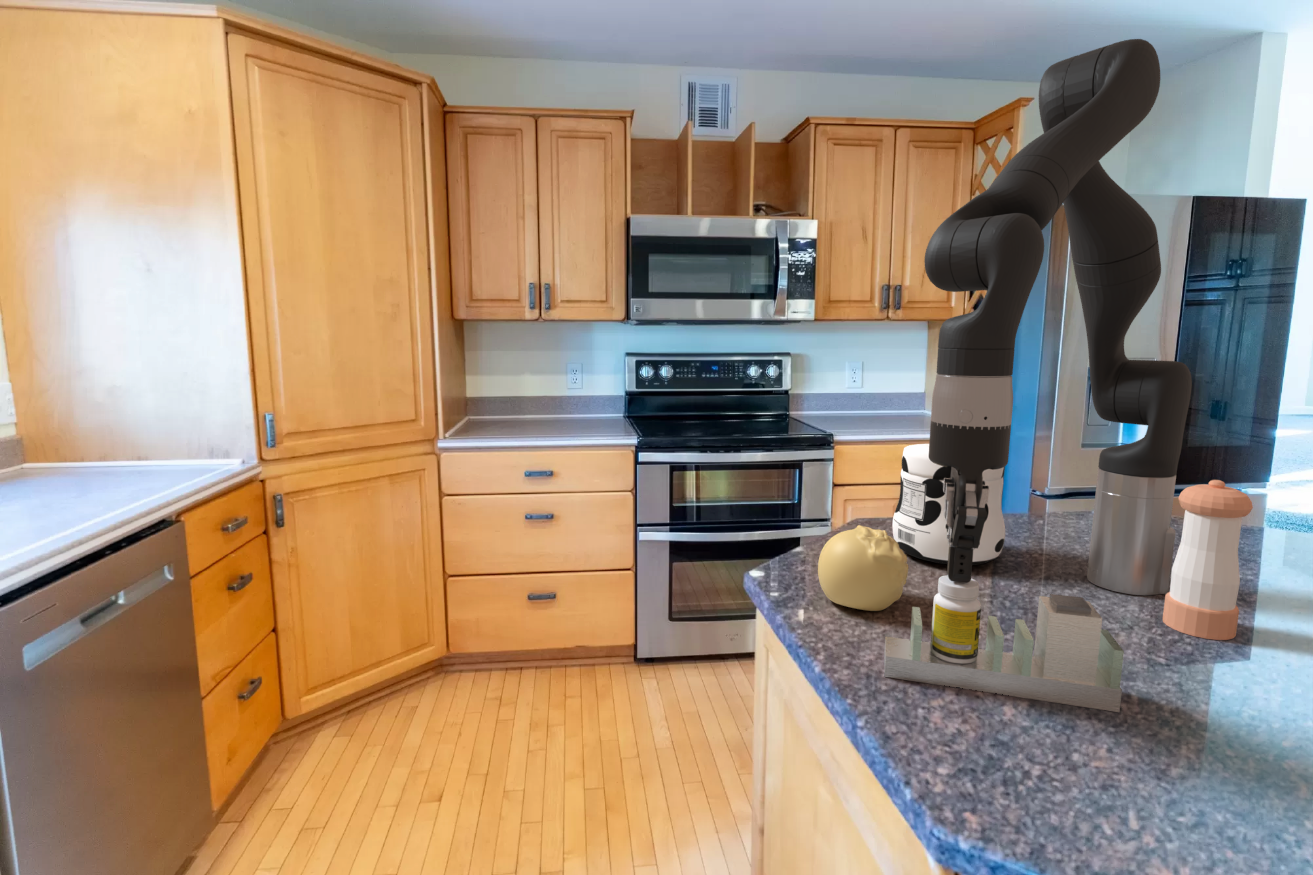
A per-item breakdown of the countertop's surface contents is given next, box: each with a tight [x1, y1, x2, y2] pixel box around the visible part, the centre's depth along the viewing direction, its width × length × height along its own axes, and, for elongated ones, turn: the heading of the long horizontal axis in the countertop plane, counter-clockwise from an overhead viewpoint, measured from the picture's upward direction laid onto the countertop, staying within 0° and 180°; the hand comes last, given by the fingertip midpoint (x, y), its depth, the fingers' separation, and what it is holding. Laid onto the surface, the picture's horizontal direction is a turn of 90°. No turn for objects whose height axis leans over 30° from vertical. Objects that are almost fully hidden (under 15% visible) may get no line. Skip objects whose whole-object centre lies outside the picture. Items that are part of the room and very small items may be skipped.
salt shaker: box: [1162, 479, 1254, 641], centre depth 83 cm, size 7×7×19 cm
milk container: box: [892, 443, 1006, 566], centre depth 110 cm, size 17×17×18 cm
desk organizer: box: [883, 593, 1125, 713], centre depth 70 cm, size 22×5×10 cm, turn 72°
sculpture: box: [817, 524, 909, 612], centre depth 92 cm, size 12×12×11 cm
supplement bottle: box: [930, 574, 982, 664], centre depth 72 cm, size 5×5×8 cm
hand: (958, 579), depth 71 cm, fingers closed
